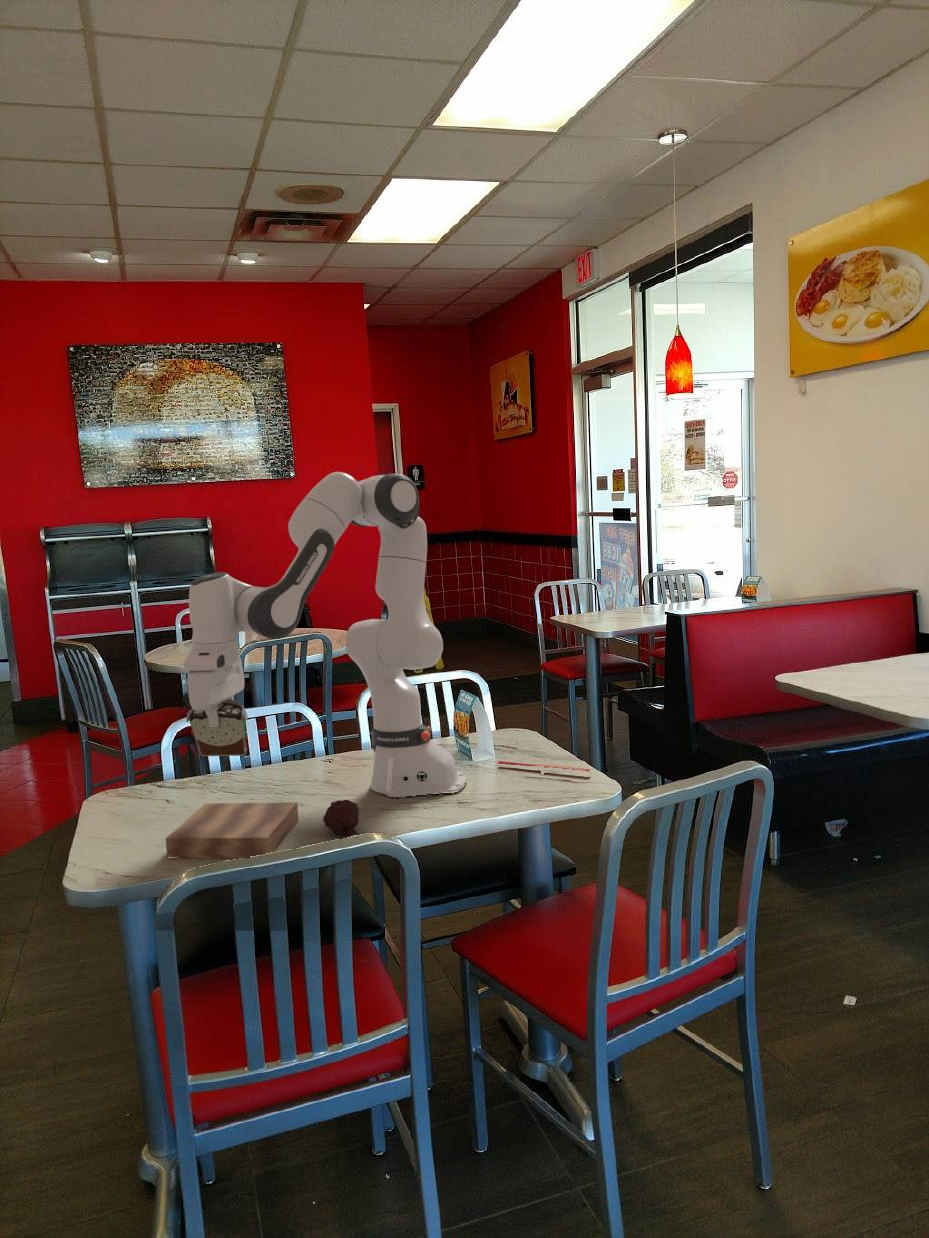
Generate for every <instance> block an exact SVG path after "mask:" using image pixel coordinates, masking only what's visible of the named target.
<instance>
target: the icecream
mask: <svg viewBox="0 0 929 1238" xmlns="http://www.w3.org/2000/svg"><path fill="white" fill-rule="evenodd" d="M359 813H360V809H359V807H358V805H357V803H355V802H353V801H352V800H350V799H343V800H335V801H331V802H330V806H329V807H328V808H327V809H326V811H325V813H324V816H323V818H322V821H323V822H324V825H325V827H327V828H328V829H329V830H331V831H332V832H333V833H335V834H340V835H348V837H349V836H353V835H358V832H357V830H356V828H357V826H358V824H359V821H360V819H359V818H360V817H359V816H360V815H359ZM358 836H359V835H358Z"/></svg>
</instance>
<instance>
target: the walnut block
mask: <svg viewBox="0 0 929 1238" xmlns="http://www.w3.org/2000/svg"><path fill="white" fill-rule="evenodd" d="M298 807H299V806H298V802H230V803H229V802H227V803H226V802H222V803H221V802H220V803H217V802H215V803H212V802H211V803H208V802H207V803H204V804H203V805H202V806H201V807H200V808H199V809H197V810H196V811H195V812H194V813H193V814H192V815H191V816H190V817H188V818H187V819H186V820H185V821H183V822H182V823H181V825H179V826H178V827H177V828H175V830H174V831H172V832H171V833H170V834H169V835H168V836H167V837H166V838H165V847H166V857H175V858H177V857H178V858H177V859H245V858H244V857H250V856H256V855H263V854H266V853H271V852H275V851H276V850H277V849H278V848H279V846H280V845H281V844H282V843H283V841H284V840H285V838H286V837H287V836H288V835H289V834H290V832H291V831H292V830H293V828H294V827H296V825H297V823H298V822H299V809H298Z"/></svg>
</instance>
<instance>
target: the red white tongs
mask: <svg viewBox="0 0 929 1238" xmlns="http://www.w3.org/2000/svg"><path fill="white" fill-rule="evenodd" d="M496 762H497V765H498V764H506V765H507V764H508V765H509V764H510V765H521V766H522V765H523V766H524V765H525V766H544V768H545V767H546V768H547V767H548V768H549V767H553V768H562V769H572V770H581V771H583V770H585V772H589V771H590V772H591V769H589V768H582V767H580V768H579V767H572V766H563V765H553V764H543V763H542V764H541V763H529V762H520V761H519V762H518V761H511V760H510V761H509V760H502V759H497V761H496ZM541 768H542V767H541Z"/></svg>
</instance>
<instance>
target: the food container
mask: <svg viewBox="0 0 929 1238" xmlns="http://www.w3.org/2000/svg"><path fill="white" fill-rule="evenodd" d="M217 713H218V717H220V722H221V724H220V725H219V726H217V727H210V726H209V719H208V717H207V714H206V712H205V710H193V709H192V708H191V709H190V710H189V711H188V712H187V713H186V714H187V715H186V723H189V725H190V726H191V727H190V728H191V731H192V734H193V736H194V739H195V743H196V745H197V748H198V752H199V754H200V757H233V756H234V757H235V756H237V757H240V756H241V757H243V756H245V757H246V755H247V753H248V749H247V737H246V724H245V723H246V722H247V721H248V712H247V711H246V709H245V707H244V706H243V704H242V703H241V702H240V701H238V700H235V699H234V700H229V699H227V700H225V701H223V702H222V703H220V704H218V710H217Z"/></svg>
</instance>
